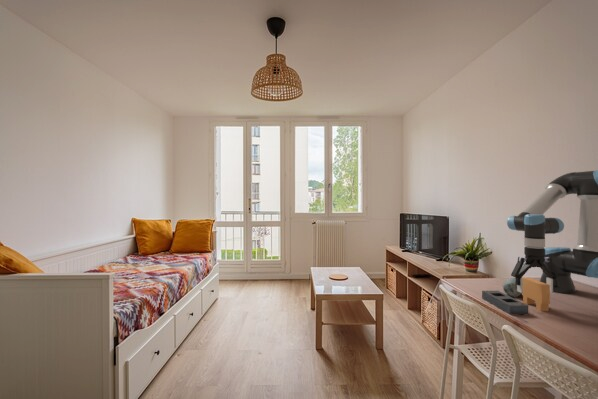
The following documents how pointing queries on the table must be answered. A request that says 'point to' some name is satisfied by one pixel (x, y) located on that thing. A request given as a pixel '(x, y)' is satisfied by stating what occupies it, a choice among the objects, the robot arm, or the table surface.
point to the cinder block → (505, 302)
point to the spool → (511, 287)
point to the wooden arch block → (536, 293)
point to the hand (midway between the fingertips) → (534, 292)
